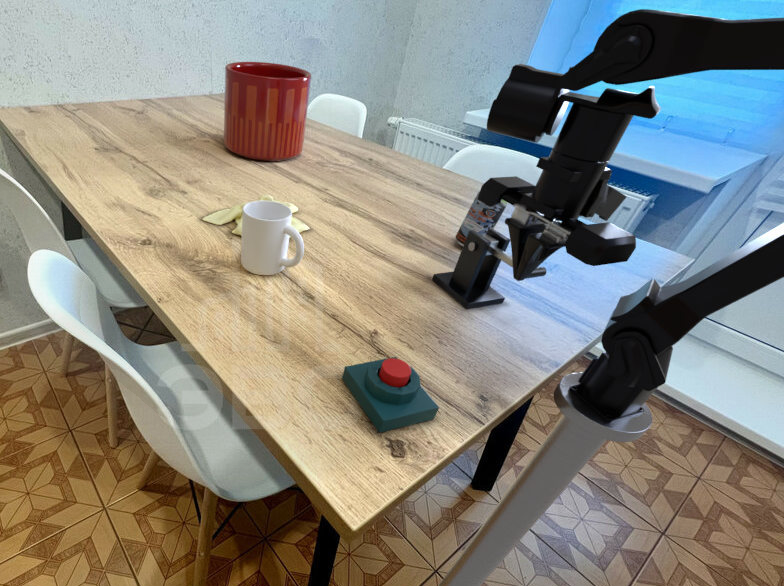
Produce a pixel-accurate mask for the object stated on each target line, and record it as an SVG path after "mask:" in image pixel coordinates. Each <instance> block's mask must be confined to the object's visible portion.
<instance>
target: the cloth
mask: <svg viewBox="0 0 784 586" xmlns="http://www.w3.org/2000/svg"><path fill="white" fill-rule="evenodd" d="M257 201H274V202H278V203H281V204H284V205H286V206H287V207H289V208H290V209H291V211H292V214H294V213H296V212H298V211H299V208H298V206H296V205H295V204H293V203H291V202H287V201H283V200H276V199H274V198H273V197H272V196H271V195H269V194H262V195H261V197H260V198H259V199H258V200H257ZM247 203H248V202H239V203H237V204H235V205H233V207H232V208H225V209H221V210H218V211H216V212H213V213H210V214H209V215H207V216H205V217H203V218H201V219H202V221H204V222H206V223H210V224H213V225H217V226H222V225H224V224H228V223H230V222H232V221H233V220H234V221H235V224H236V227H235V229H233V230H232V231H231V233H232V234H234V235H237V236H241V237H242V216H243V207H244V205H246V204H247ZM291 226H292V227H293V228H295V229H296V230H297V231H298V232H299V234H301V233H302V232H303V233H304V232H305V231H308V230H311V228H310V227H309V226H308V225H307V224H306V223H305V222H303V221H302V220H300V219H298V218H296V217H295V216H292V218H291ZM289 239H292V237H290V236H289Z"/></svg>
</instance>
